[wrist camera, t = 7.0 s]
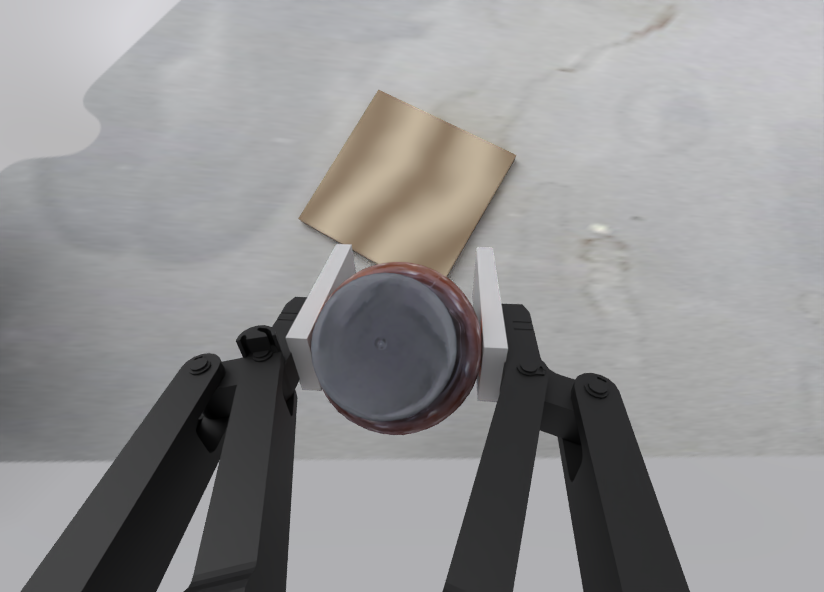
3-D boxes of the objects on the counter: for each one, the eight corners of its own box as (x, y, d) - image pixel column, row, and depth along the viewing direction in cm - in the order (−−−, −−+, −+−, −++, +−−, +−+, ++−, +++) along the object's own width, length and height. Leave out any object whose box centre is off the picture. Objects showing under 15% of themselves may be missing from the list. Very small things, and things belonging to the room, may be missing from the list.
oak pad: (301, 221, 36) (298, 218, 35) (380, 95, 37) (378, 89, 36) (435, 296, 34) (435, 295, 33) (514, 159, 35) (516, 155, 34)
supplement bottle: (347, 372, 21) (232, 399, 10) (390, 278, 22) (327, 202, 10) (443, 419, 20) (437, 505, 9) (485, 319, 21) (529, 284, 10)
